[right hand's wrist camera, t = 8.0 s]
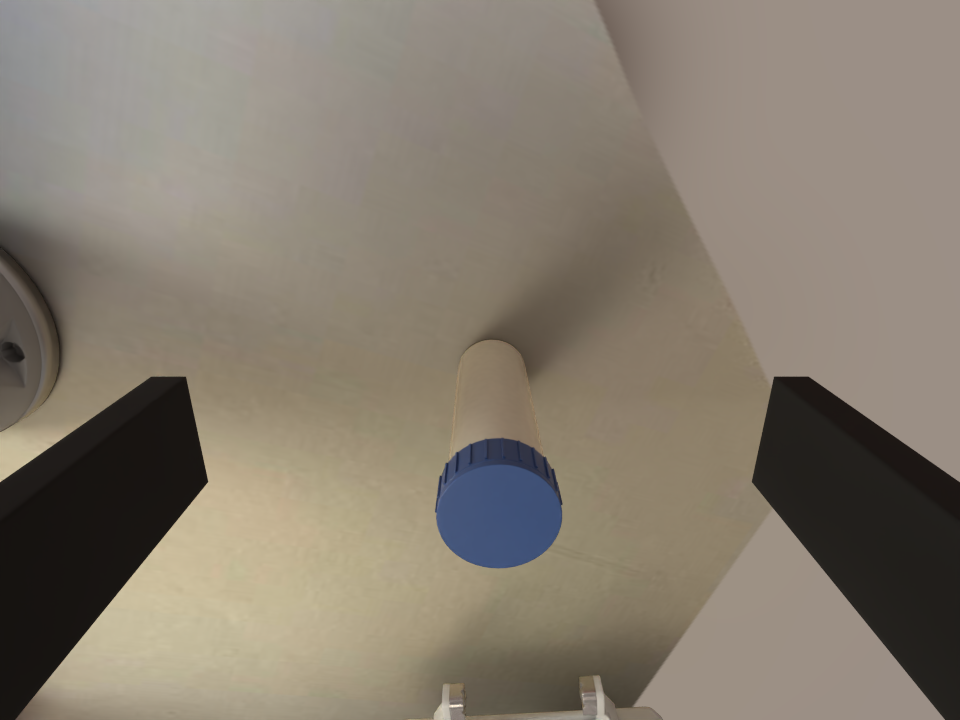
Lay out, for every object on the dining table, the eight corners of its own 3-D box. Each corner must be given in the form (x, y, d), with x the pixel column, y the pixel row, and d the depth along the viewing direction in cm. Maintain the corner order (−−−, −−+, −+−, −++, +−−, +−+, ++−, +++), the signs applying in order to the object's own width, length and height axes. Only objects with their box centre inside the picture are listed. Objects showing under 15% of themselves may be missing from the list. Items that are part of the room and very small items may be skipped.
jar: (450, 392, 37) (432, 543, 23) (467, 331, 36) (459, 452, 22) (514, 408, 38) (535, 565, 24) (534, 349, 36) (569, 479, 22)
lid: (426, 522, 25) (421, 555, 23) (454, 423, 23) (452, 449, 21) (536, 547, 25) (540, 581, 23) (573, 452, 24) (581, 480, 22)
